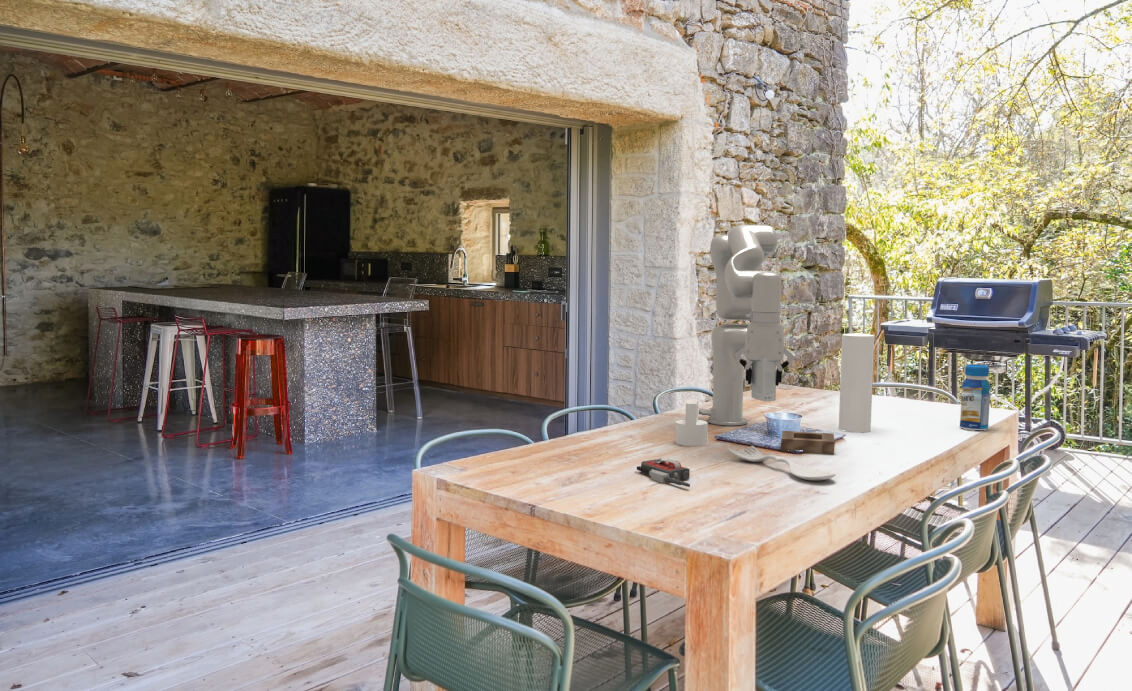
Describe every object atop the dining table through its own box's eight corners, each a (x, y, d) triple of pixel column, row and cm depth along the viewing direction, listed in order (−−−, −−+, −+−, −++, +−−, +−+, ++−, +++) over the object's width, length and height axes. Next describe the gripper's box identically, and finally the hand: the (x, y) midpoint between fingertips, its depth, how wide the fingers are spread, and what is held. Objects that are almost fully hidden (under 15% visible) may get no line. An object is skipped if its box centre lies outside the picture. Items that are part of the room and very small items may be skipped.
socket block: (780, 451, 242) (781, 438, 241) (782, 442, 253) (782, 430, 253) (834, 454, 238) (834, 441, 238) (833, 445, 250) (833, 433, 249)
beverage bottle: (993, 431, 272) (997, 367, 270) (966, 431, 272) (969, 367, 270) (981, 426, 281) (984, 364, 279) (954, 426, 281) (957, 363, 279)
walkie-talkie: (629, 474, 216) (685, 492, 200) (629, 456, 215) (686, 473, 199) (656, 469, 221) (713, 486, 205) (656, 452, 220) (714, 468, 204)
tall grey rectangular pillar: (874, 432, 269) (878, 334, 266) (843, 432, 269) (847, 334, 266) (864, 427, 278) (868, 332, 275) (834, 426, 278) (838, 331, 275)
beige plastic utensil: (751, 456, 236) (752, 443, 236) (843, 483, 209) (844, 468, 208) (725, 460, 232) (725, 447, 232) (815, 487, 204) (816, 473, 204)
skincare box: (776, 400, 237) (778, 356, 236) (761, 401, 236) (763, 356, 234) (763, 397, 243) (765, 353, 241) (749, 398, 241) (751, 354, 240)
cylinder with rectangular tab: (676, 439, 257) (677, 398, 256) (707, 440, 256) (708, 399, 254) (674, 445, 249) (675, 403, 247) (706, 446, 247) (707, 404, 246)
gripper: (731, 318, 235) (729, 384, 237) (798, 320, 231) (796, 388, 233) (733, 316, 243) (731, 380, 245) (799, 318, 238) (796, 384, 240)
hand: (763, 383), depth 239 cm, fingers closed on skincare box, 6 cm apart
